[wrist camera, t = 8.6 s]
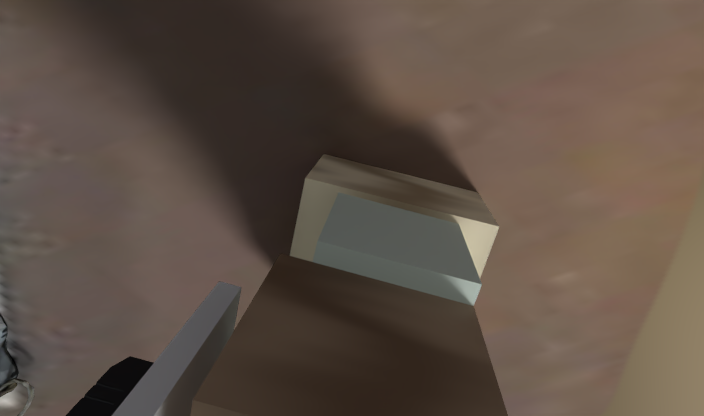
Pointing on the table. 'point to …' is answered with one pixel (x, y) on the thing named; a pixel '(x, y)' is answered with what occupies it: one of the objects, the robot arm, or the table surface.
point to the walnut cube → (350, 351)
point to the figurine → (10, 371)
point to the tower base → (389, 203)
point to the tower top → (398, 248)
